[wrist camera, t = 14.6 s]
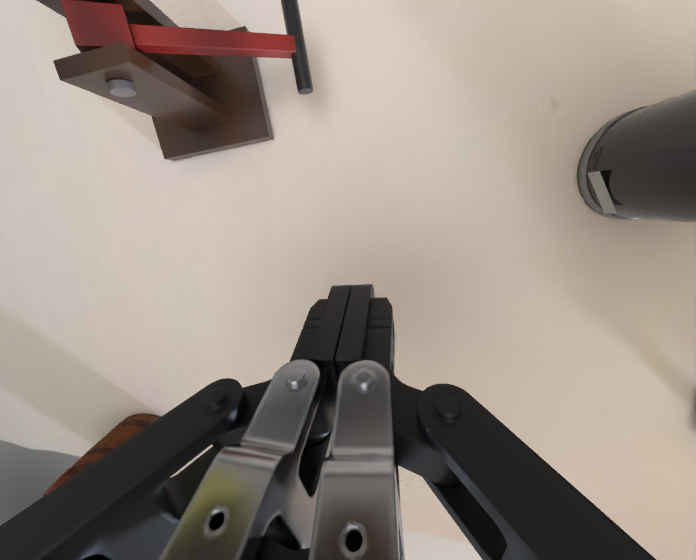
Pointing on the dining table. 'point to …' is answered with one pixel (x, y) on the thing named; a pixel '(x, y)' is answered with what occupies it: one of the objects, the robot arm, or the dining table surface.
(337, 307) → the robot arm
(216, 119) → the rod stand
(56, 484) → the wooden figurine
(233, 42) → the lever handle
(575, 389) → the dining table surface
